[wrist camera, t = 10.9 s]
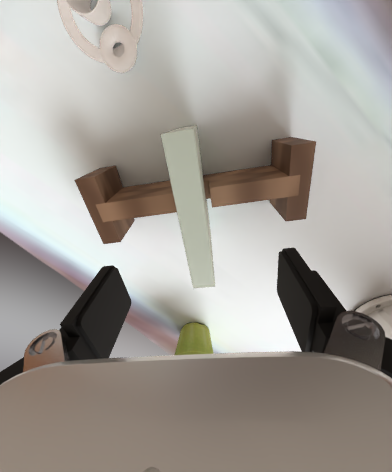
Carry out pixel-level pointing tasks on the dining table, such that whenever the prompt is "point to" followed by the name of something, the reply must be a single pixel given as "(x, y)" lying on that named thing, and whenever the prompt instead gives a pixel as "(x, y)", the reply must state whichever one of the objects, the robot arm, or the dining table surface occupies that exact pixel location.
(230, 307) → the dining table surface
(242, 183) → the walnut slot rail
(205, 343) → the plant pot
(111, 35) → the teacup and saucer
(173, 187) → the sage slot plate
